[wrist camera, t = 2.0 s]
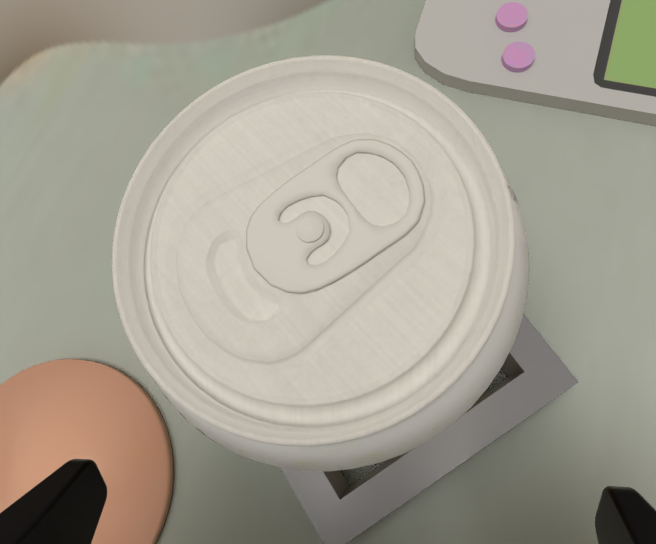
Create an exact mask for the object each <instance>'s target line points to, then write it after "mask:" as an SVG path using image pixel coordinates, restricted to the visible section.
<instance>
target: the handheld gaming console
mask: <svg viewBox="0 0 656 544" xmlns="http://www.w3.org/2000/svg"><path fill="white" fill-rule="evenodd" d="M415 60H416V61H417V62H418V64H419V65H420V67H421V68H422V70H423V71H424V72H425V73H426V74H427V75H429V76H430V77H432V78H434V79H435V80H437V81H438V82H440V83H441V84H443V85H447V86H450V87H453V88H456V89H460V90H463V91H466V92H471V93H477V94H482V95H488V96H493V97H499V98H504V99H510V100H515V101H520V102H526V103H531V104H537V105H542V106H548V107H553V108H559V109H564V110H569V111H575V112H580V113H586V114H591V115H597V116H602V117H608V118H613V119H618V120H624V121H629V122H635V123H640V124H646V125H651V126H656V0H426V1H425V4H424V7H423V10H422V13H421V16H420V20H419V23H418V26H417V29H416V32H415Z"/></svg>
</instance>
